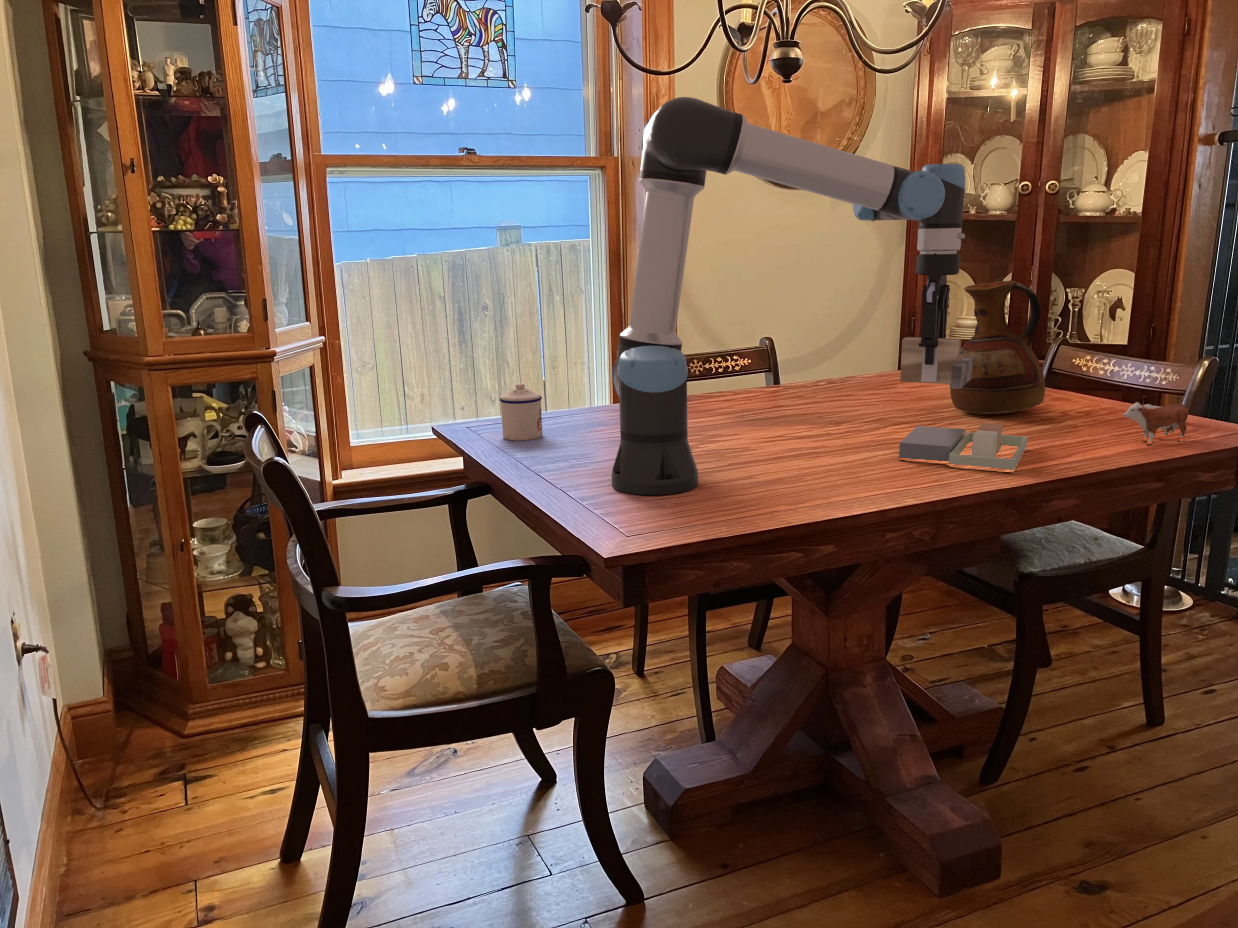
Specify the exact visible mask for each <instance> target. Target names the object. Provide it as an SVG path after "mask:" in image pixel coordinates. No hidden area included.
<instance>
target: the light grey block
mask: <svg viewBox="0 0 1238 928" xmlns="http://www.w3.org/2000/svg"><path fill="white" fill-rule="evenodd" d="M974 433H975V434H974V435H973V445H972V456H983V457H996V447H997V433H998V432H997V431H983V430H979V429H977V430H976V431H975V432H974Z"/></svg>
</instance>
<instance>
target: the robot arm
mask: <svg viewBox="0 0 1238 928" xmlns="http://www.w3.org/2000/svg"><path fill="white" fill-rule="evenodd" d="M640 145H641V151H642V153H641V162H640V168H639V169H640V171H639V179H638V181H639V182H640V184H641V185H642V186H643V188H644V190H645V199H644V206H643V213H642V214H643V215H642V222H641V231H640V237H639V245H638V254H637V262H636V269H635V277H634V278H635V279H634V283H633V284H634V286H633V295H632V301H631V310H630V317H629V323H628V326H627V327H626V328H625V329H624V330H623V331H621V332H620V334H619V337H618V346H617V354H616V360H615V361H614V364H613V367H612V373H611V379H612V384H613V385H612V386H613V388H614V390H615V393H616V395H617V396H618V400H619V426H620V427H619V429H620V432H619V433H620V434H619V435H620V443H619V446H618V450H617V453H616V456H615V460H614V464H613V467H612V470H611V486H612V488H613V489H615V490H616V491H619V492H623V493H626V494H631V495H632V494H633V495H639V496H640V495H641V496H663V495H673V494H679V493H683V492H687V491H690V490H692V489H694V488H696V487H697V486H698V485H699V471H698V468H697V467H698V466H697V464H696V460H695V458H694V456H693V455H694V454H693V453H692V450H691V447H690V444H689V440H688V439H689V437H688V375H689V369H688V368H689V367H688V364H687V357H686V356H685V354H684V353H683V352H682V349H683V348H682V347H683V341H682V340H681V338H680V337H679V335H678V334H677V325H678V324H677V323H678V317H679V311H680V310H679V309H680V303H681V302H680V301H681V295H682V288H683V281H684V273H685V265H686V259H687V254H688V253H687V252H688V246H689V237H690V230H691V222H692V216H693V210H694V209H693V208H694V203H695V202H694V201H695V197H696V196H697V195H698V194H700V192H702V191H703V190H704V189H705V186H706V185H705V184H706V179H707V172H709V171H710V172H714V173H718V174H721V175H725V176H727V175H729V174H731V173H733V172H738V173H741V174H745V175H748V176H752V177H754V178H755V177H756V178H759V179H763V180H766V181H769V182H773V183H776V184H777V183H778V184H780V185H784V186H788V187H791V188H795V189H799V190H801V191H807V192H810V193H813V194H817V195H820V196H824V197H828V198H829V199H830V198H831V199H835V200H838V201H842V202H846V203H849V204H852V211H853V214H854V216H855V218H856V219H858V221H871V222H875V221H901V220H902V221H903V220H905V221H907V220H908V221H909V220H910V221H916V222H918V230H917V243H916V245H917V246H916V250H917V251H918V252H920V253H919V254H917V256H916V266H915V267H916V270H915V272H916V274H917V275H918V276H919V275H920V276H927V278H926V279H927V281H926V285H925V284H924V285H923V291H922V293H921V297H922V313H921V315H922V316H921V335H920V338H921V343H919V347H923V358H922V376H921V382H937V372H938V355H939V347H937V346H938V338H947V325H948V324H947V323H948V311H949V310H948V309H949V308H948V307H949V297H950V292H951V288H950V284H948V281H947V279H948V278H947V277H948V276H955V275H959V273H960V268H961V267H960V266H961V255H960V253H957V252H958V251H960V250H961V244H962V239H965V237H966V235H965V233H963V232H962V229H963V228H962V227H963V215H964V213H963V212H964V202H965V193H966V173H965V172H966V171H965V167H964V166H963V165H962V164H960V163H951V162H950V163H933V164H932V163H930V164H925V165H924V166H922V168H921V170H918V171H914V170H910V169H907V168H903V167H900V166H896V165H892V164H889V163H887V162H882V161H879V160H875V159H872V158H869V157H865V156H861V155H859V154H854V153H852V152H848V151H844V150H841V149H838V148H834V147H831V146H829V145H828V146H827V145H823V144H820V143H818V142H813V141H810V140H808V139H803V138H800V137H796V136H793V135H789V134H785V133H782V132H780V131H775V130H772V129H769V128H766V127H762V126H758V125H755V124H752V123H749V122H748V121H747V118H746V116H745V115H744V114H742V113H738V112H735V111H731V110H729V109H726V108H724V107H720V106H717V105H714V104H712V103H709V102H707V101H704V100H701V99H698V98H695V97H690V96H682V97H675V98H673V99H670V100H668V101H666V102H665V103H663V104H662V105H661V106H659V108H658V109H657V110H656V111H655V112H654V113H652V114H651V116H649V118H648V119H647V121H646V123H645V125H644V127H643V130H642V133H641V141H640Z"/></svg>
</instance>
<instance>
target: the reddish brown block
mask: <svg viewBox="0 0 1238 928" xmlns="http://www.w3.org/2000/svg"><path fill="white" fill-rule="evenodd" d="M978 430H983V431H997V432H998V433H997V447H996V454H997V453H998V452H999V450H1000V449H1001V437H1002V435H1003V433H1002V432H1003V423H993V422H992V423H990V422H982V423H981V425H980V426H979V427H978Z"/></svg>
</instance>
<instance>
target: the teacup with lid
mask: <svg viewBox="0 0 1238 928" xmlns="http://www.w3.org/2000/svg"><path fill="white" fill-rule="evenodd" d="M542 397H543V396H542V395H541V393H540V392H536V391H533V390H531V389H530V388H526V386H525V383H523V382H522V383H521V382H520V383H516V384H515V387H514V388H513V389H510V390H509V391H508V392H506V393H503V394H502V395H501V396H499V401H500V408H501V409H500V410H501V425H502V427H501V428H502V438H503V439H505V440H507V441H513V440H514V441H516V442H521V441H523V442H524V441H531V440H536V439H540V438H541V437H542V436H543V418H542V416H543V415H542V413H543V412H542V399H543V398H542Z"/></svg>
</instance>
